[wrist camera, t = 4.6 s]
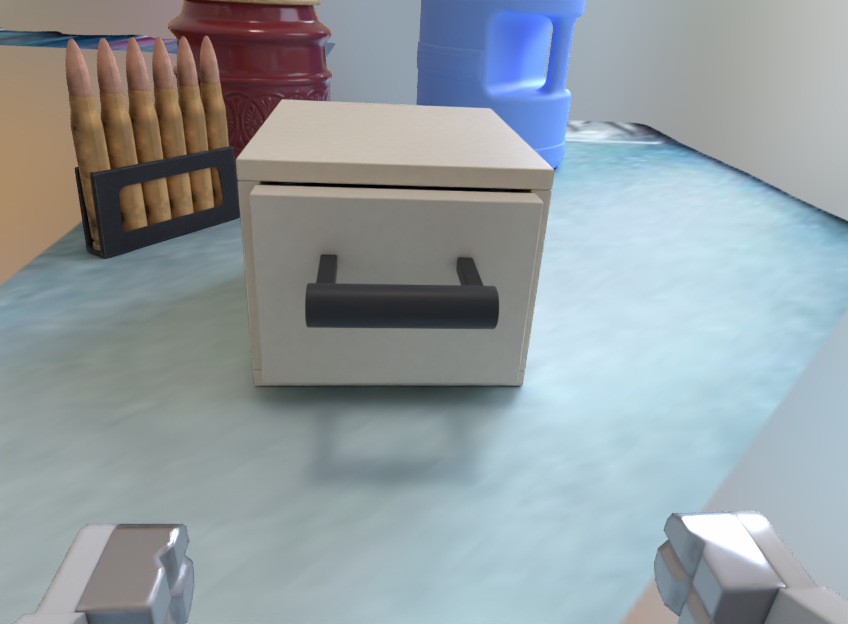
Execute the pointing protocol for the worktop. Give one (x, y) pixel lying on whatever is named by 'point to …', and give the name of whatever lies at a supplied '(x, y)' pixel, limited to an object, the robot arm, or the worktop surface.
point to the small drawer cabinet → (386, 171)
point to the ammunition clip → (150, 148)
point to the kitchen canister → (258, 56)
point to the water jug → (501, 63)
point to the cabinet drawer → (392, 282)
